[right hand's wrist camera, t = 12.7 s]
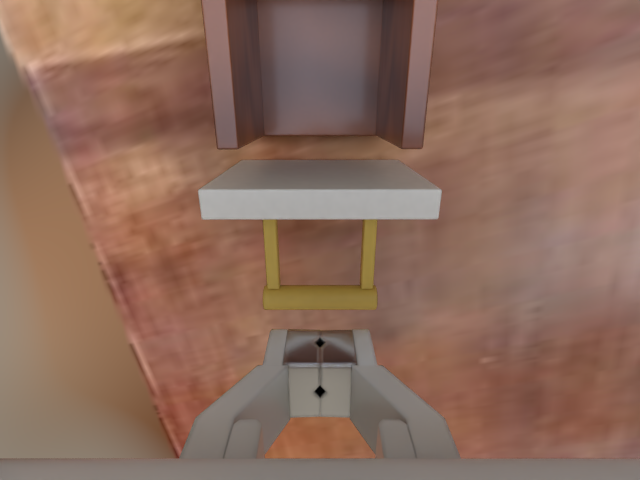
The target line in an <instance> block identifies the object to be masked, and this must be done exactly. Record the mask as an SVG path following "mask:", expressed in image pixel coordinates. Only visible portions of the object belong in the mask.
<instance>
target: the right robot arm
mask: <svg viewBox="0 0 640 480" xmlns="http://www.w3.org/2000/svg"><path fill="white" fill-rule="evenodd" d="M290 417H350V420H351V421H352V423H353V424H354V425H355V427H356V428H357V430H358V431H359V432H360V434H361V435H362V437H363V438H364V439H365V441H366V442H367V444H368V445H369V446H370V448H371V449H372V451H373V452H374V453H375V455H376V457H375V458H349V459H265V456H264V455H265V454H266V452H267V451H268V449H269V448H270V447H271V445H272V444H273V442H274V441H275V440H276V438H277V437H278V435H279V434H280V433H281V431H282V430H283V428H284V427H285V426H286V424H287V423H288V422H289V420H290ZM0 480H640V458H533V459H461V458H460V455H459V453H458V450H457V448H456V445H455V443H454V440H453V438H452V435H451V433H450V430H449V428H448V425H447V423H446V420H445V418H444V417H443V416H441V415H440V414H439V413H438V412H437V411H436V410H434V409H433V408H432V407H431V406H430V405H428V404H427V403H426V402H425V401H424V400H423V399H421V398H420V397H419V396H418V395H417V394H415V393H414V392H413V391H412V390H411V389H410V388H408V387H407V386H406V385H405V384H404V383H403V382H401V381H400V380H399V379H398V378H397V377H395V376H394V375H393V374H392V373H391V372H390V371H388V370H387V369H386V368H385V367H384V366H382V365H377V361H376V357H375V352H374V348H373V344H372V339H371V335H370V331H369V330H368V329H352V330H300V329H288V330H287V329H272V330H271V331H270V334H269V339H268V343H267V348H266V352H265V357H264V361H263V365H258V366H256V367H255V368H254V369H253V370H252V371H250V372H249V373H248V374H247V375H246V376H245V377H243V378H242V379H241V380H240V381H239V382H237V383H236V384H235V385H234V386H233V387H231V388H230V389H229V390H228V391H227V392H226V393H224V394H223V395H222V396H221V397H220V398H218V399H217V400H216V401H215V402H214V403H213V404H211V405H210V406H209V407H208V408H207V409H205V410H204V411H203V412H202V413H201V414H199V415H198V416H197V417H196V418H195V421H194V423H193V426H192V428H191V431H190V433H189V435H188V438H187V440H186V443H185V445H184V448H183V450H182V453H181V455H180V458H179V459H0Z"/></svg>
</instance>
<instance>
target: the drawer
mask: <svg viewBox="0 0 640 480" xmlns="http://www.w3.org/2000/svg"><path fill="white" fill-rule="evenodd" d="M201 4H202V13H203V22H204V31H205V41H206V50H207V59H208V68H209V78H210V87H211V96H212V105H213V115H214V124H215V133H216V142H217V148H218V149H239V148H241V147H243V146H245V145H247V144H249V143H251V142H252V141H254V140H256V139H258V138H260V137H262V136H378V137H380V138H382V139H384V140H386V141H388V142H390V143H392V144H394V145H396V146H397V147H399V148H401V149H422V147H423V140H424V130H425V121H426V111H427V102H428V92H429V83H430V73H431V64H432V55H433V45H434V36H435V26H436V17H437V7H438V0H201ZM198 194H199V202H200V209H201V217H202V219H204V220H263V232H264V248H265V263H266V278H267V285H266V286H265V287H264V290H263V307H264V309H265V310H375V309H376V308H377V289H376V286H375V285H373V280H374V264H375V249H376V233H377V219H438V216H439V209H440V201H441V194H442V190H441V189H440V188H438V187H437V186H436V185H434V184H433V183H431V182H430V181H428V180H427V179H425V178H424V177H422V176H421V175H420V174H418V173H417V172H415V171H414V170H412V169H411V168H409V167H408V166H406V165H405V164H404V163H402V162H401V161H399V160H241V161H240V162H238V163H237V164H235V165H234V166H232V167H231V168H230V169H228V170H227V171H225V172H224V173H222V174H221V175H219V176H218V177H216V178H215V179H213V180H212V181H210V182H209V183H208V184H206V185H205V186H203V187H202V188H200V189H199V190H198ZM277 219H363V226H362V248H361V269H360V285H280V265H279V245H278V224H277Z"/></svg>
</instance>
